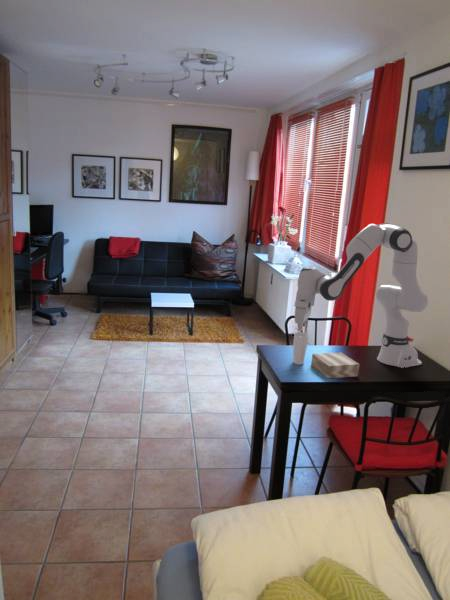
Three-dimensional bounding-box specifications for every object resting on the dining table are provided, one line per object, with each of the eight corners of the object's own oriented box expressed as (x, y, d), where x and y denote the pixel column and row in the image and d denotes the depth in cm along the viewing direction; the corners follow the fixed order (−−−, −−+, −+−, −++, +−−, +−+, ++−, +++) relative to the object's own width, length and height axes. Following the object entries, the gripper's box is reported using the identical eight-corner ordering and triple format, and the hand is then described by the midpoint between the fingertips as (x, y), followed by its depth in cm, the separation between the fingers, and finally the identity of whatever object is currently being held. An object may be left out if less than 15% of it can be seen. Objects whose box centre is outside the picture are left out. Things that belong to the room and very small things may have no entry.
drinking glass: (304, 366, 245) (308, 336, 242) (290, 364, 246) (293, 335, 243) (305, 361, 252) (308, 332, 248) (291, 359, 253) (294, 331, 249)
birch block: (339, 363, 252) (341, 352, 251) (357, 376, 238) (359, 364, 236) (311, 365, 247) (312, 353, 246) (327, 378, 232) (329, 366, 231)
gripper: (303, 295, 252) (300, 322, 255) (293, 303, 233) (290, 332, 236) (315, 297, 250) (312, 324, 253) (307, 305, 231) (303, 334, 234)
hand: (301, 328), depth 244 cm, fingers open, 8 cm apart
